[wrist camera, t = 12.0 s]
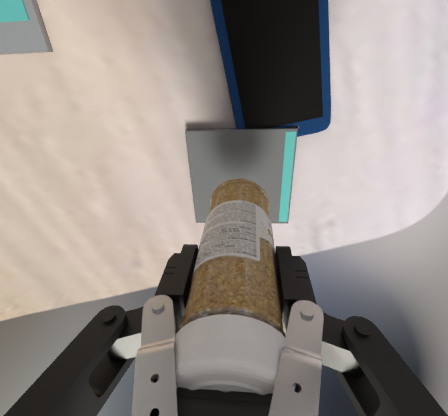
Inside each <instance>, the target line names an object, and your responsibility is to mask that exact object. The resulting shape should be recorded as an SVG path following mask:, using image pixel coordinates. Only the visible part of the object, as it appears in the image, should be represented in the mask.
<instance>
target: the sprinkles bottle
mask: <svg viewBox="0 0 448 416" xmlns="http://www.w3.org/2000/svg"><path fill="white" fill-rule="evenodd" d="M285 337H286V335H285V333H284V331H283V322H282V314H281V308H280V298H279V289H278V280H277V263H276V258H275V248H274V240H273V233H272V225H271V221H270V219H269V200H268V197H267V194H266V192H265V191H264V190H263V189H262V187H261V186H259V185H258V184H256V183H255V182H252V181H251V180H247V179H244V178H240V179H231V180H227V181H225V182H223V183H221V184H220V185H219V186H218V187H217V188H216V189H215V190H214V192H213V194H212V196H211V200H210V211H209V215H208V217H207V219H206V223H205V227H204V231H203V234H202V238H201V242H200V246H199V250H198V254H197V258H196V262H195V266H194V270H193V274H192V278H191V287H190V292H189V296H188V301H187V304H186V308H185V313H184V316H183V320H182V324H181V325H180V326H179V329H178V332H177V334H176V335H175V366H176V377H177V383H178V387H182V388H188V389H190V390H198V389H207V390H219V391H222V392H231V391H237V392H252V393H257V394H260V395H265V394H269V393H272V394H273V391H274V386H275V381H276V377H277V372H278V367H279V362H280V357H281V353H282V348H283V347H285ZM296 393H297V392H296Z"/></svg>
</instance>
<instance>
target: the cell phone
mask: <svg viewBox="0 0 448 416" xmlns="http://www.w3.org/2000/svg"><path fill="white" fill-rule="evenodd" d="M210 1H211V6H212V11H213V16H214V20H215V25H216V30H217V35H218V40H219V45H220V49H221V54H222V59H223V64H224V69H225V74H226V78H227V83H228V88H229V93H230V98H231V103H232V107H233V112H234V117H235V122H236V127H237V129H273V128H298V131H297V137H298V136H303V135H308V134H313V133H317V132H320V131H323V130H325V129H327V128H328V126H329V124H330V119H331V95H330V58H329V20H328V0H210Z"/></svg>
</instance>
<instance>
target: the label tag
mask: <svg viewBox="0 0 448 416" xmlns="http://www.w3.org/2000/svg"><path fill="white" fill-rule="evenodd" d="M38 52H53V50H52V47H51V44H50V41H49V38H48V35H47V32H46V29H45V26H44V23H43V20H42V17H41V14H40V11H39V8H38V5H37V2H36V0H0V55H1V54H19V53H38Z"/></svg>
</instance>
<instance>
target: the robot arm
mask: <svg viewBox="0 0 448 416" xmlns="http://www.w3.org/2000/svg"><path fill="white" fill-rule="evenodd" d="M197 254H198V246H197V245H189V244H184V245H183V248H182V251H181V253H174V254H173V255H172V256H171V257H170V258H169V260H168V262H167V265H166V268H165V270H164V272H163V275H162V278H161V280H160V283H159V286H158V288H157V291H156V293H155V296H154V297H152V298H150V299H149V300H148V301H147V302H146V303H145V305H144V306H143V307H141V308H138V309H135V310H130V311H126V312H125V311H124V309H123V308H122V307H120V306H109V307H106V308H104V309H103V310H101V311H100V312H99V313H98V314H97V315H96V316H95V317H94V318H93V319H92V320H91V322H89V323H88V325H87V326H86V327H85V328H84V329H83V330H82V331H81V332H80V333H79V334H78V335H77V337H76V338H75V339H74V340H73V341H72V342H71V343H70V344H69V345H68V346H67V348H66V349H65V350H64V351H63V352H62V353H61V354H60V355H59V356H58V357H57V358H56V359H55V361H54V362H53V363H52V364H51V365H50V366H49V367H48V368H47V369H46V370H45V371H44V372H43V373H42V375H41V376H40V377H39V378H38V379H37V380H36V381H35V382H34V383H33V385H31V387H30V388H29V389H28V390H27V391H26V392H25V393H24V394H23V395H22V396H21V398H19V400H18V401H17V402H16V403H15V404H14V405H13V406H12V407H11V408H10V409H9V410H8V412H7V413H6V414H5V415H4V416H97V414H98V413H99V411H100V410H101V408H102V407H103V405H104V404H105V402H106V401H107V399H108V398H109V396H110V395H111V393H112V392H113V390H114V389H115V387H116V386H117V384H118V383H119V381H120V380H121V378H122V377H123V375H124V374H125V372H126V371H127V369H128V368H129V366H130V365H131V363H132V362H133V360H134V359H135V357H136V366H135V379H134V393H133V406H132V416H318V407H319V395H320V381H321V367H322V364H323V365H325V366H328V367H330V368H333V369H334V370H335V372H336V374H337V376H338V377H339V379H340V381H341V383H342V385H343V386H344V388H345V390H346V392H347V394H348V395H349V397H350V399H351V401H352V403H353V404H354V406H355V408H356V410H357V412H358V413H359V415H360V416H448V415H447V414H446V413H445V412H444V410H443V409H442V408H441V407H440V405H439V404H438V403H437V402H436V400H435V399H434V398H433V397H432V395H431V394H430V393H429V392H428V390H427V389H426V388H425V387H424V385H423V384H422V383H421V382H420V380H419V379H418V378H417V377H416V375H415V374H414V373H413V372H412V370H411V369H410V368H409V367H408V365H407V364H406V363H405V362H404V361H403V359H402V358H401V357H400V355H399V354H398V353H397V352H396V350H395V349H394V348H393V347H392V345H391V344H390V343H389V342H388V340H387V339H386V338H385V337H384V335H383V334H382V333H381V332H380V330H379V329H378V328H377V327H376V326H375V325H374V324H373V323H372V322H371V321H369V320H368V319H365V318H363V317H358V316H352V317H349V318H348V319H346V320H345V321H343V320H340V319H337V318H334V317H331V316H329V315H327V314H326V313H324V312H323V311H322V310H321V308H320V307H319V306H318V305H317V303H316V300H315V296H314V293H313V289H312V285H311V282H310V279H309V274H308V271H307V267H306V263H305V262H304V261H303V260H302V259H301V257H300V256H292V254H291V249H290V247H288V246H276V250H275V258H276V263H277V280H278V289H279V298H280V308H281V314H282V322H283V331H284V332H286V337H285V347H283V348H282V353H281V357H280V362H279V367H278V372H277V377H276V381H275V386H274V391H273V394H272V393H269V394H265V395H260V394H257V393H252V392H237V391H231V392H222V391H219V390H207V389H198V390H190V389H188V388H182V387H178V383H177V377H176V366H175V335H176V334H177V332H178V329H179V326H180V325H181V324H182V320H183V316H184V313H185V308H186V304H187V301H188V296H189V292H190V287H191V278H192V274H193V270H194V266H195V262H196V258H197ZM296 392H297V393H296Z"/></svg>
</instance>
